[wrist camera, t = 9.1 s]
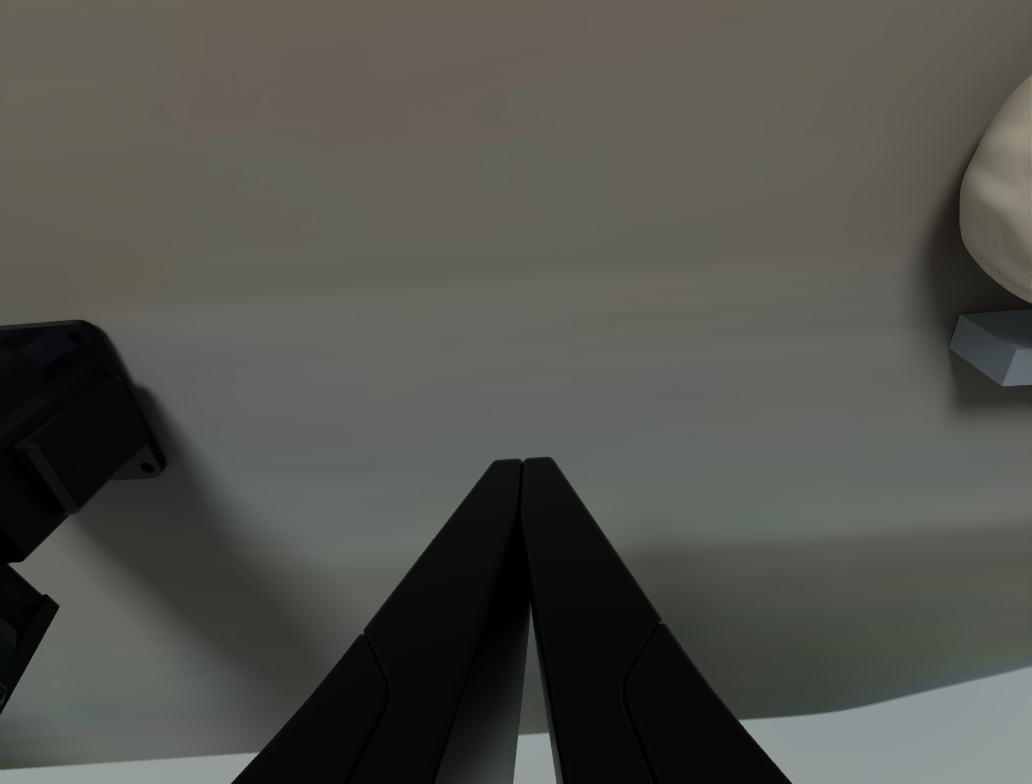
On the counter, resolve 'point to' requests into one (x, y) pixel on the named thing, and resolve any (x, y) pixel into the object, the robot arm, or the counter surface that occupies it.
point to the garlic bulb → (1002, 196)
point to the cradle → (997, 344)
